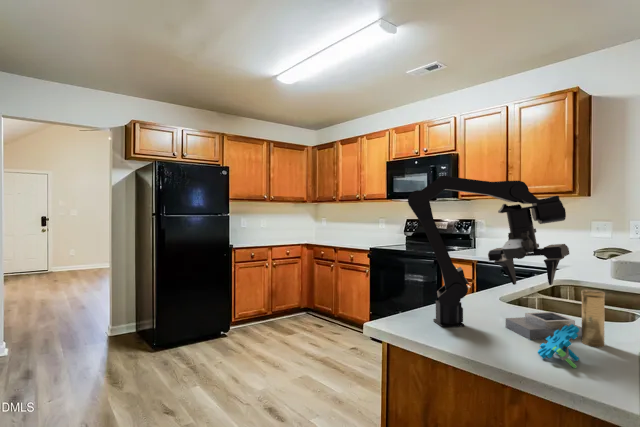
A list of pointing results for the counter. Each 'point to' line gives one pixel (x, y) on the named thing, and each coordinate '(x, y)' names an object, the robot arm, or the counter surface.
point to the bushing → (593, 318)
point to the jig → (540, 324)
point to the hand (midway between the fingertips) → (532, 284)
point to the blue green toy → (560, 344)
